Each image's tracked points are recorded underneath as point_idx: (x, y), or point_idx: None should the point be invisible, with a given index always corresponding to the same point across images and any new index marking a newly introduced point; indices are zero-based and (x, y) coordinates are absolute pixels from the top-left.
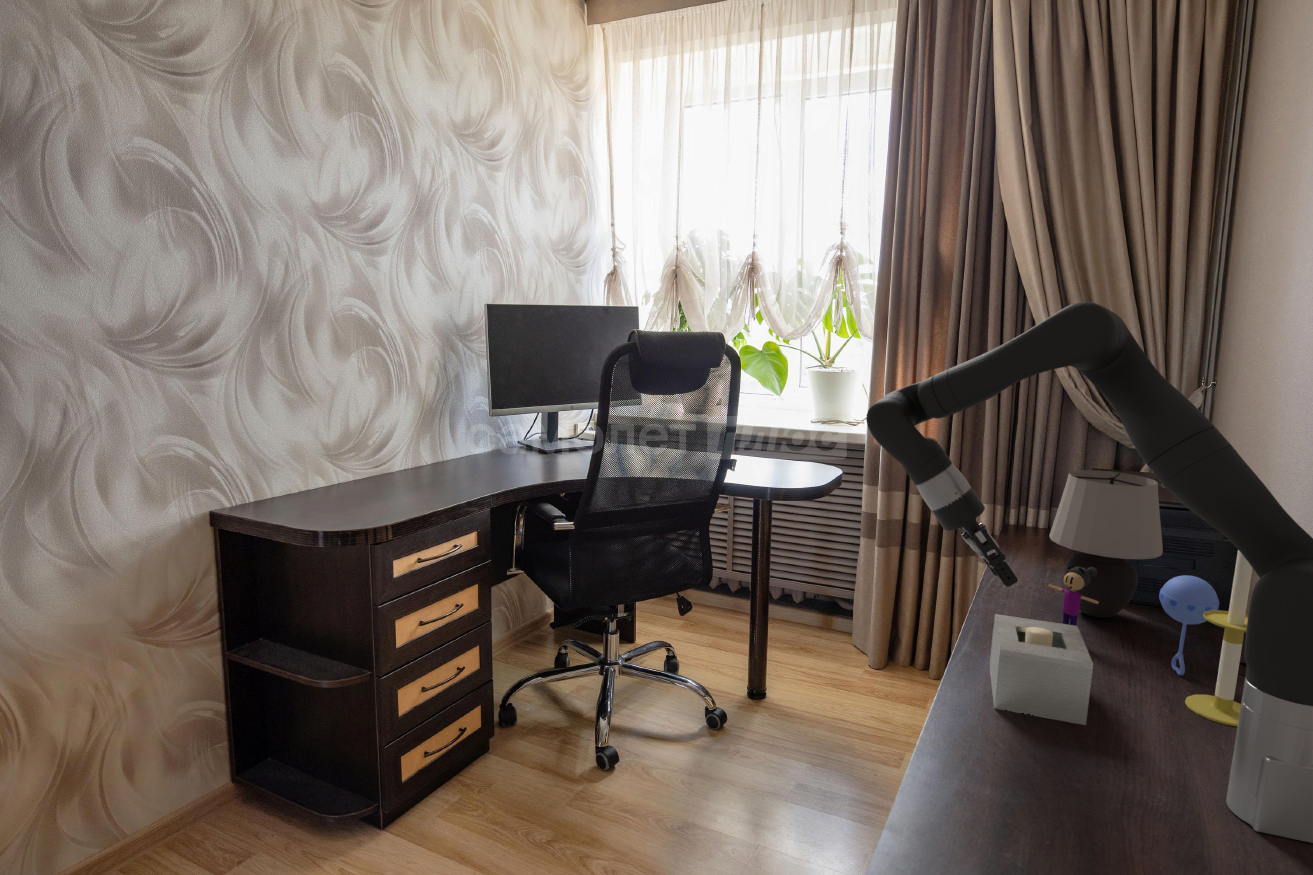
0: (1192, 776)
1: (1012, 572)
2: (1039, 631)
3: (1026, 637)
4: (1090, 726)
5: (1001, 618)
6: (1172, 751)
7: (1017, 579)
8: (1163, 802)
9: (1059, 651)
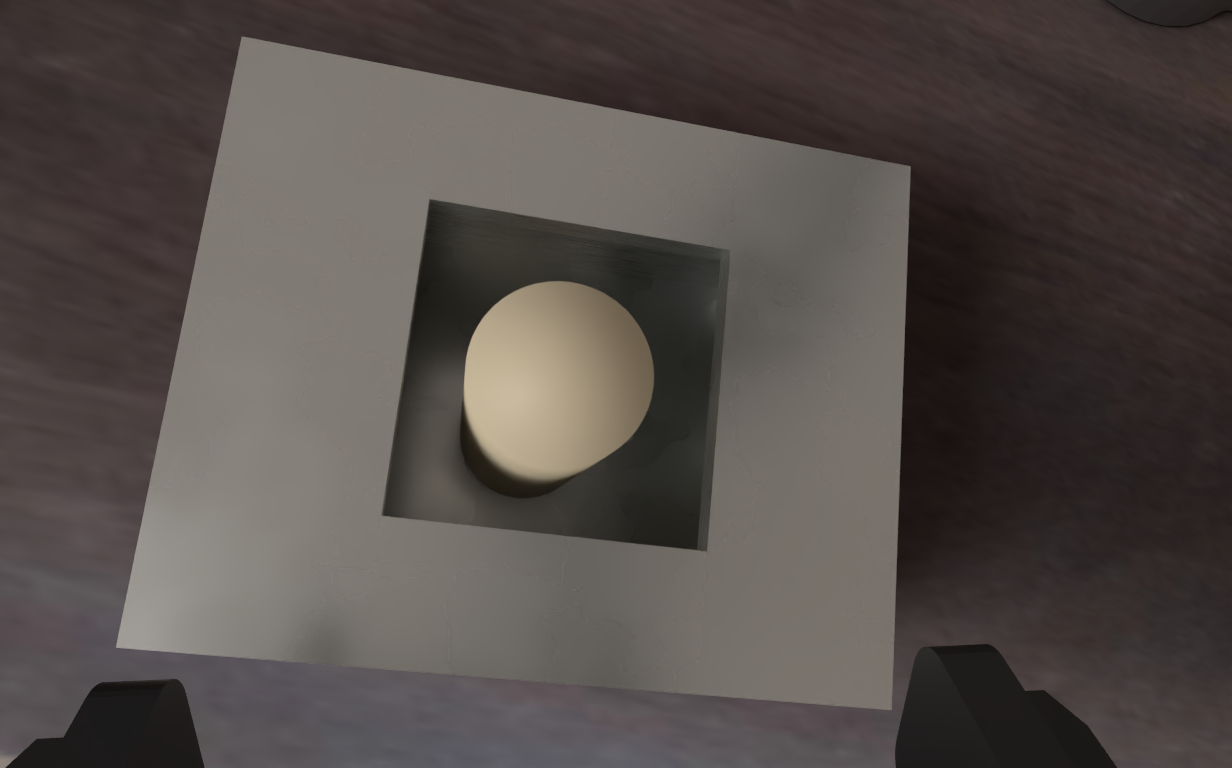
0: (1011, 44)
1: (1054, 750)
2: (556, 372)
3: (570, 470)
4: None
5: (224, 603)
6: (864, 33)
7: (988, 649)
8: (1197, 203)
9: (785, 310)
